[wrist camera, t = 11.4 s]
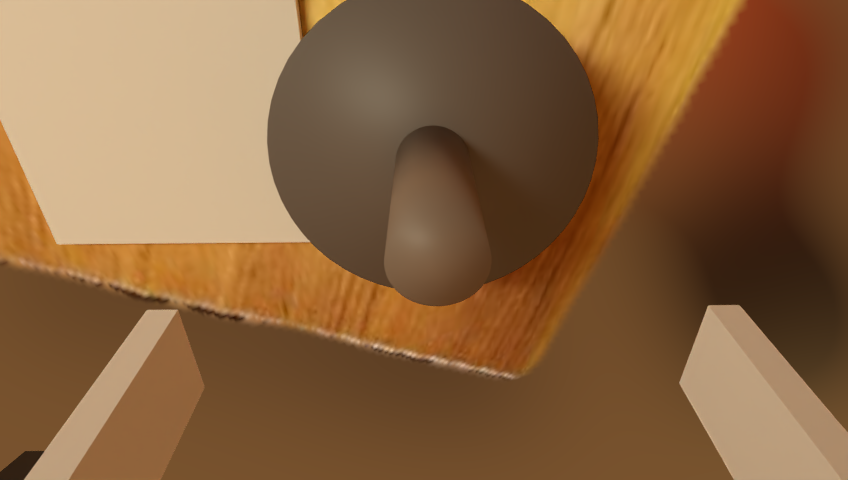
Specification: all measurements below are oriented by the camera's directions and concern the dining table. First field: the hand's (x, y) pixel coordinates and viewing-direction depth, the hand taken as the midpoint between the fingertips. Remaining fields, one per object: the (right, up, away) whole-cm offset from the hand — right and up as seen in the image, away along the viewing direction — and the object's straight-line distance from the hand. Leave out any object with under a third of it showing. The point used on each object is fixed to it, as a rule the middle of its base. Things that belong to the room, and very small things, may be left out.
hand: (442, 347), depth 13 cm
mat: (-16, +11, +16) cm, 25 cm away
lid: (0, +7, +13) cm, 15 cm away
